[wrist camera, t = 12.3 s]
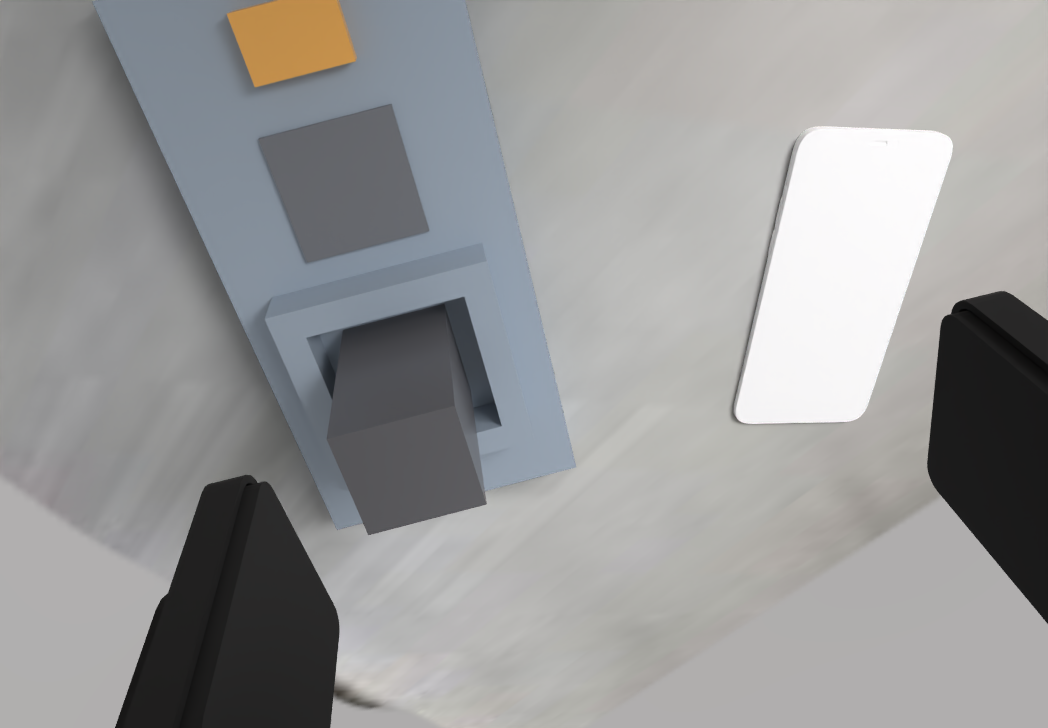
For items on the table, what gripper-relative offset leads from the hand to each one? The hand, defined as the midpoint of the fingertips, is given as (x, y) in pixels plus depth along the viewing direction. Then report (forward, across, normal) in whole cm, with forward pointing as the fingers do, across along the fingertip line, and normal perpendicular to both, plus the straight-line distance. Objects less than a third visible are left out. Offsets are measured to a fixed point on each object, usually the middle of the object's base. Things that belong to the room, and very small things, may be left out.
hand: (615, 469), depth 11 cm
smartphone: (+24, -14, +13) cm, 31 cm away
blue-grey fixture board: (+23, +6, +6) cm, 25 cm away
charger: (+21, +6, +10) cm, 24 cm away
